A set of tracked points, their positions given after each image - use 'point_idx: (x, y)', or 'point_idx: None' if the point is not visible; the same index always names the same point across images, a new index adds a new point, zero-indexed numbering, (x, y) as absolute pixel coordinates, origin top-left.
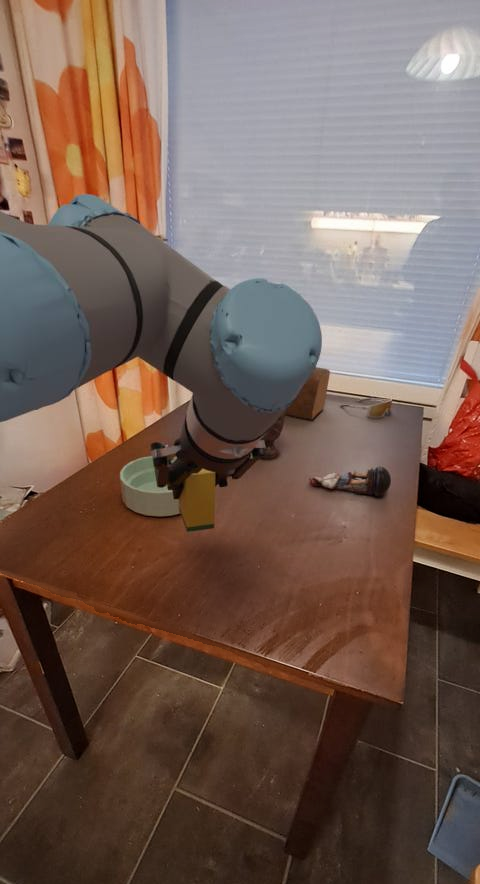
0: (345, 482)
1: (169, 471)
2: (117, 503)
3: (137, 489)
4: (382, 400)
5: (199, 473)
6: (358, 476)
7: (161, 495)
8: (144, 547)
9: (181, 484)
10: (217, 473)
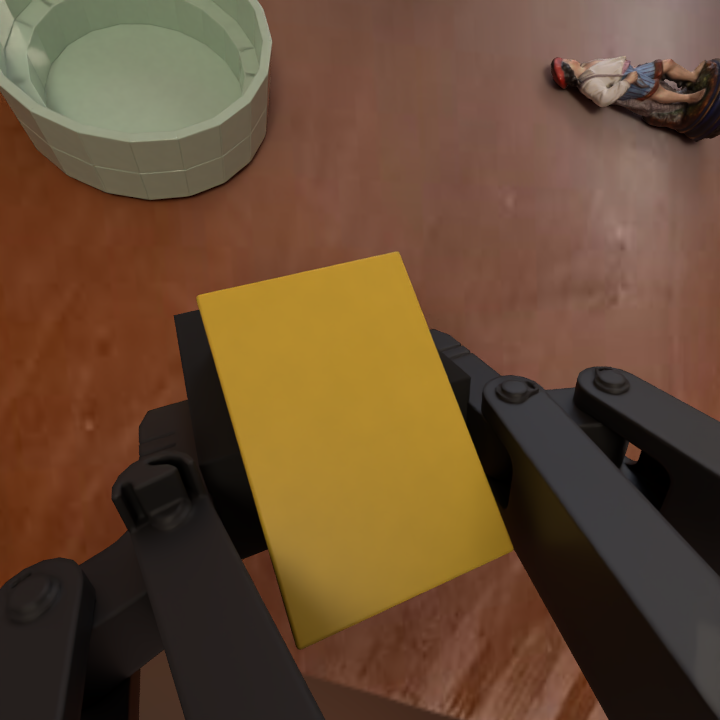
0: (641, 94)
1: (147, 600)
2: (2, 123)
3: (49, 117)
4: None
5: (405, 590)
6: (675, 77)
7: (145, 148)
8: (116, 335)
9: (251, 542)
10: (513, 518)
